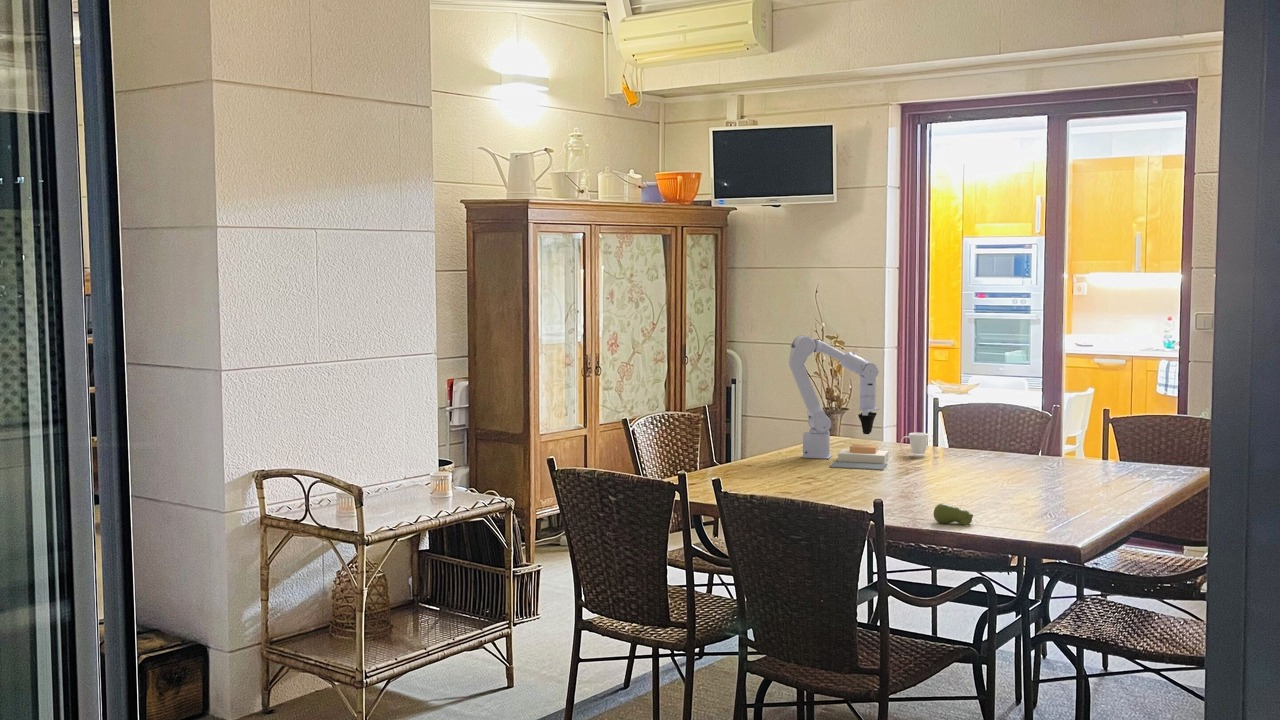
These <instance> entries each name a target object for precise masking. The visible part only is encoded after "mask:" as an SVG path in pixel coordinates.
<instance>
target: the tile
mask: <svg viewBox="0 0 1280 720" xmlns="http://www.w3.org/2000/svg"><path fill="white" fill-rule="evenodd" d="M849 449H850V452H851V453H873V454H876V453H877V451H878V449H879V446H878V445H876V444H875V445H874V444H873V445H872V444H851V445H850V446H849Z"/></svg>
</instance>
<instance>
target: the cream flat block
mask: <svg viewBox="0 0 1280 720" xmlns="http://www.w3.org/2000/svg"><path fill="white" fill-rule="evenodd" d="M888 460H889V450H880V449H879V450H878V451H877V453H876V454H873V453H851V452H850V448H842V449H841V450H840V451H839V452H837V461H844V462H865V463H885V464H887V462H888Z"/></svg>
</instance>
